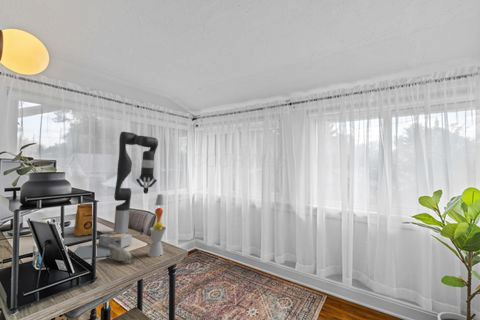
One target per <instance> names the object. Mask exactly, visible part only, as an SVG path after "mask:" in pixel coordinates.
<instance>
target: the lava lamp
mask: <svg viewBox="0 0 480 320" xmlns="http://www.w3.org/2000/svg"><path fill="white" fill-rule="evenodd" d="M154 205H155V206H164V205H165V199H164V194H162V193H159V194H158V193H157V196H156V201H155V204H154ZM163 213H164V210H163V208H161V207H158V208H156V209H155V211H154V214H155V216H156V223H155V225H154V226H152V227H149V232H150V236H151V240H152V243H151V246H150V247H149V251H148V253H147V256H148V257H149V256H150V258H158V257H157V256H160V255H162V254H163V253H164V250H163V245H162V239H163V237H164V234H165V232H166V230H167V229H166V227H165V226H163V223H162V222H161V219H162V215H163ZM163 255H164V254H163ZM163 255H162V256H163ZM160 257H161V256H160Z"/></svg>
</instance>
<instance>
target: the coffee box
mask: <svg viewBox="0 0 480 320" xmlns="http://www.w3.org/2000/svg"><path fill="white" fill-rule="evenodd" d="M132 237H133V234H131V233H130V234H129V233H126V234H125V233H118V232H114V231H109V232H105V233H103V234H100V235H99V238H98V245H99V246H105V247H109V246H108V245H109V244H112V245H115V246H116V247H120V248H122V249H124V248H126V247H127V246H130V245H132V239H133V238H132Z"/></svg>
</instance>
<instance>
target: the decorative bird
mask: <svg viewBox="0 0 480 320" xmlns="http://www.w3.org/2000/svg"><path fill="white" fill-rule="evenodd" d="M108 246H109V247H110V254H109V255H111V257H112V259H114V260H115V261H117V262H124V261H125V262H126V263H127V264H128V265H130V264H131V262H132V253H131V252H130V251H128V250H126V249H124V248H120V247H116V246H115V245H112V244H109V245H108ZM108 258H110V257H109V256H108V255H107V256H106V257H105V259H108Z"/></svg>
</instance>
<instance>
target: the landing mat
mask: <svg viewBox="0 0 480 320" xmlns="http://www.w3.org/2000/svg"><path fill="white" fill-rule="evenodd" d="M92 245H93V244H92ZM92 245H91V244H90V245H80V246H78V247H77V249H76V250H75V252H74V253H75V254H77V255H78V256H79V257H81V258H82V259H83V260H91V257H92ZM96 245H97V256H96V258H95V259H101V258H106V256H107V255H108V256H109V257H108V258H110V257H111V255H109V254H110V247H105V246H99V244H96Z"/></svg>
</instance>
